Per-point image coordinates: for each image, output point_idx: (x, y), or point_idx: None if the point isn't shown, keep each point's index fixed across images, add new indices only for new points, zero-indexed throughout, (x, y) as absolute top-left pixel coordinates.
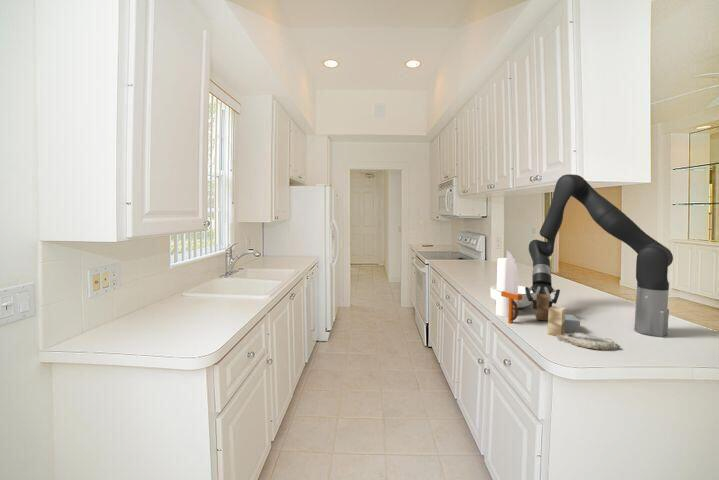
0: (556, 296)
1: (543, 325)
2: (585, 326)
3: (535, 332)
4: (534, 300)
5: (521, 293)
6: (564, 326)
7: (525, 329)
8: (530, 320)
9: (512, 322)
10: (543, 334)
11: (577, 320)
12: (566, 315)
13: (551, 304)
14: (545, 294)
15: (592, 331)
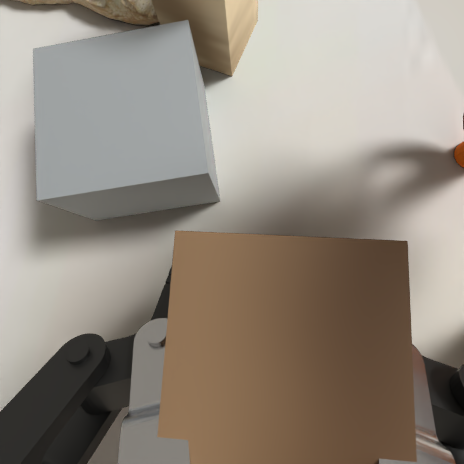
0: (18, 419)
1: (261, 177)
2: (16, 253)
3: (317, 28)
4: None
5: None
6: (157, 10)
7: (370, 57)
8: None
9: (460, 145)
10: (277, 13)
11: (48, 49)
12: (90, 161)
13: (166, 295)
14: (215, 458)
15: (11, 165)
